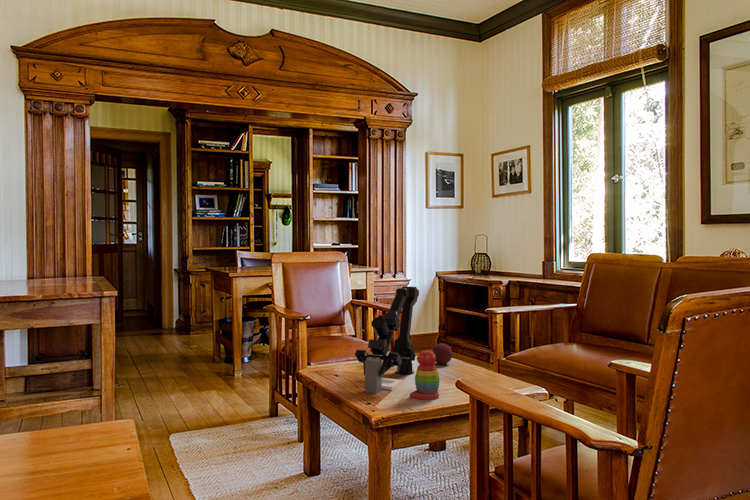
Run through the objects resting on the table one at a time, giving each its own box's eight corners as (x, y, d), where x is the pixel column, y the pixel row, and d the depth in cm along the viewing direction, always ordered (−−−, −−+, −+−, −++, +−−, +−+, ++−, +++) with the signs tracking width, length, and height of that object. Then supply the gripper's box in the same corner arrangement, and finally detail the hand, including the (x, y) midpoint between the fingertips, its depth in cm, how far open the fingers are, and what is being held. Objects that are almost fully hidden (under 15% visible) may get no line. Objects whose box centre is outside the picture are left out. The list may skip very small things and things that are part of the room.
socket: (365, 386, 223) (365, 383, 223) (377, 379, 234) (377, 377, 234) (392, 390, 218) (392, 387, 218) (403, 382, 229) (403, 380, 228)
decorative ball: (453, 366, 258) (453, 345, 258) (432, 366, 258) (432, 345, 258) (450, 361, 268) (450, 341, 268) (430, 361, 268) (430, 341, 268)
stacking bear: (423, 391, 216) (423, 346, 216) (445, 395, 210) (445, 349, 209) (407, 397, 208) (407, 350, 208) (429, 402, 201) (429, 354, 201)
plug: (364, 392, 214) (364, 358, 214) (370, 389, 219) (370, 356, 219) (376, 394, 212) (376, 360, 212) (381, 390, 217) (381, 357, 217)
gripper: (356, 329, 223) (343, 362, 213) (398, 332, 215) (387, 366, 205) (365, 345, 230) (353, 377, 220) (406, 349, 222) (395, 382, 212)
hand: (371, 375), depth 214 cm, fingers open, 6 cm apart
